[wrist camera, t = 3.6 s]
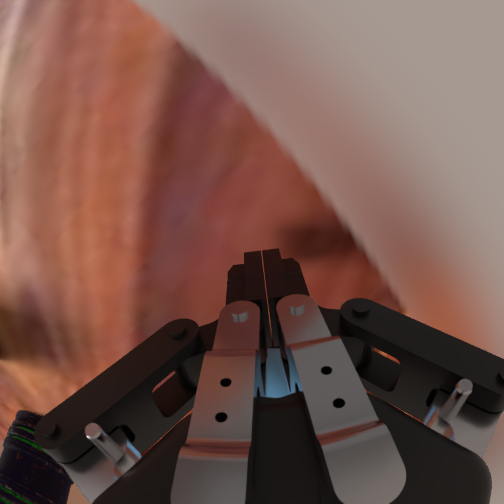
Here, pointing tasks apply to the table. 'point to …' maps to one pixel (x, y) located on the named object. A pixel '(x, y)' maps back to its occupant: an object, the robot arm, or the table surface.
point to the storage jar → (30, 467)
